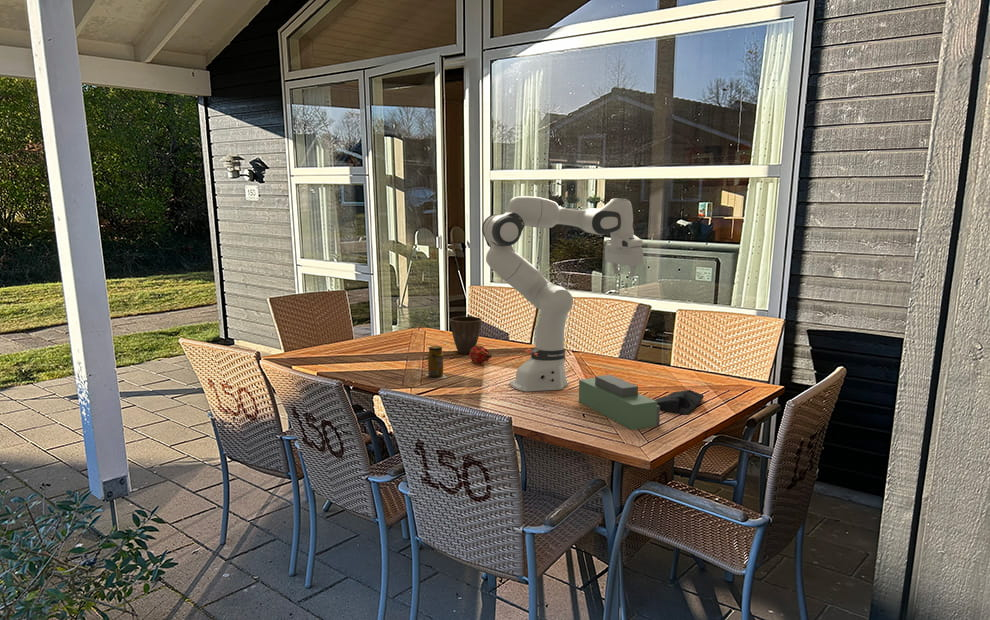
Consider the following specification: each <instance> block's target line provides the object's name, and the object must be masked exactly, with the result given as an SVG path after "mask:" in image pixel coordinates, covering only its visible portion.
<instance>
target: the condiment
mask: <svg viewBox="0 0 990 620" xmlns="http://www.w3.org/2000/svg"><path fill="white" fill-rule="evenodd" d="M427 369H428V370H427V371H428V373H425V374H424V375H425V376H426V377H427V378H428V379H430V380H440V379H441V380H442V379H448V377H447V376H446V375H445V374H444V354H443V347H442V346H441V345H440V346H439V345H433V346H429V348H428V354H427Z"/></svg>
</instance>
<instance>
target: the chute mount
mask: <svg viewBox="0 0 990 620" xmlns="http://www.w3.org/2000/svg"><path fill="white" fill-rule="evenodd" d="M655 400H656V399H652V398H650V397H647V396H645V395H643V394H641V393H639V386H638V385H636V384H634V383H631V382H629V381H626V380H625V379H624V380H623V378H619V377H616V376H615V375H612V374H605V375H596V376H595V377H591V378H583V379H578V403H580V404H582V405H584V406H585V407H587V408H590V409H592V410H594V411H596V412H597V413H599V414H600V415H603V416H605V417H607V418H608V419H610V420H613V421H614V422H616V423H618V424H620V425H621V426H623V427H625V428H627V429H629V430H631V431H635V430H642V429H648V428H654V427H657V426H658V425H660V422H661V421H660V418H661V417H660V416H661V411H660V406H659V405H657V401H655Z"/></svg>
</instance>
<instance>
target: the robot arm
mask: <svg viewBox="0 0 990 620" xmlns="http://www.w3.org/2000/svg"><path fill="white" fill-rule="evenodd" d="M633 213H634V212H633V206H632V203H631V201H630V200H629V199H626V198H617V197H616V198H611V199H610V201H608V202H607V203H606V204H604V206H602V207H599V208H595V207H591V206H590V207H586V208H582V209H571V208H567V207H565V208H564V207H561V206H559V204H558V202H556V201H553V200H551V199H548V198H543V197H539V196H531V195H530V196H528V195H523V196H519V195H518V196H514V197H512V198H511V199H510V200H509V202H508V204H507V209H506V211H505V212H504V213H503V214H497V213H496V214H491V215H489V216H487V218H485V220H484V221H483V223H482V227H481V231H482V235H483V238H484V240H485V242H486V245H487V247H489V249H488V251H487V253H486V255H485V256H486V257H485V262H486V264H487V265H488V266H489V268H490V269H491V270H492V271H493V272H494V273H495V274H496V275H497V276H498V277H500V279H502V280H503V281H504V282H506V283H507V284H508V285H509V286H511V287H512V288H513V289H515V290H516V291H517V292H518V293H519V294H520V295H521V296H522V297H523V298H524V299H526V301H528V302H529V303H530V304H531V305H533V307H535V309H538V310H540V312H539V319H538V323H537V325H536V326H535V338H534V339H535V343H534V344H535V345H534V347H533V349H532V348H526V350H525V351H526V353H527V354H528V355H530V358H529V359H527V360H526V361H525V362H524V363H523V364H522V365H520V366H519V367H518V368H517V369H516V372H515V373H516V374H515V377H514V378H515V379H512V380H509V385H510V387H512V388H513V389H516V390H517V391H520V392H521V391H522V392H524V393H525V392H541V391H555V390H556V391H559V390H560V391H561V390H563V389H564V388H565V387H566V386H568V381H567V380H568V379H567V375H566V370H565V369H566V367H565V361H566V360H565V359H566V348H565V329H566V325H567V324H566V323H567V320H568V319H567V318H568V316H569V313H570V311H571V309H572V307H573V305H574V298H573V295H572V294H571V292H570V291H569V290H568V289H567V288H565V287H564V286H561V285H557V284H555V283H552V282H551V281H549V279H547V278H546V277H545V276H544V275H543V274H542V273H541V272H540V271H539V270H538V268H537V267H536V266H534V265H533V264H532V263H531V262H529V260H527V259H526V258H524V257H523V256H522V255H520V253H518V252H517V251H516V250H515V249H514V248H513V245H514V244H516V243H517V242H518V241H519V240H520V238H521V237H522V232H523V230H524V228H525V227H530V228H531V227H532V228H537V229H551V228H553V227H555V226H556V225H563V226H571V227H576V228H578V229H579V230H581V231H582V232H584V233H586V234H593V235H599V236H605V235H608V234H610V238H608V240H607V241H606V243H605V244H606V245H605V248H604V250H605V251H604V260H605V261H606V263H611V267H612V269H613V274H614V275H620V274H621V271H620V269H619V267H618V265H623V266H629V269H630V270H629V271H628V277H629V278H635V277H636V276H635V272H636V270H637V267H641V266H643V265H644V248H643V247H642V246H643V245H644V244H643V240H642V238H640V237H638V236H636V235H635V232H634V230H635V229H634V227H633V224H634V214H633Z"/></svg>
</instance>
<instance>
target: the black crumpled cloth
mask: <svg viewBox="0 0 990 620" xmlns="http://www.w3.org/2000/svg"><path fill="white" fill-rule="evenodd" d="M703 399H704V394H702V393H699V392H697V391H696V392H695V391H694V390H691V389H685V390H680V391H673V392H671V393H669V394H668V395H665V396H661V397H659V398H658V397H657V398H656V399H654V400H655V401H657V405H659V406H660V412H665V413H671V414H678V415H689V414H690V413H691V412H692V411H693V410H695V409H696V407H697V406H698V405H699V404H700V403H701V401H702V400H703Z"/></svg>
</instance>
